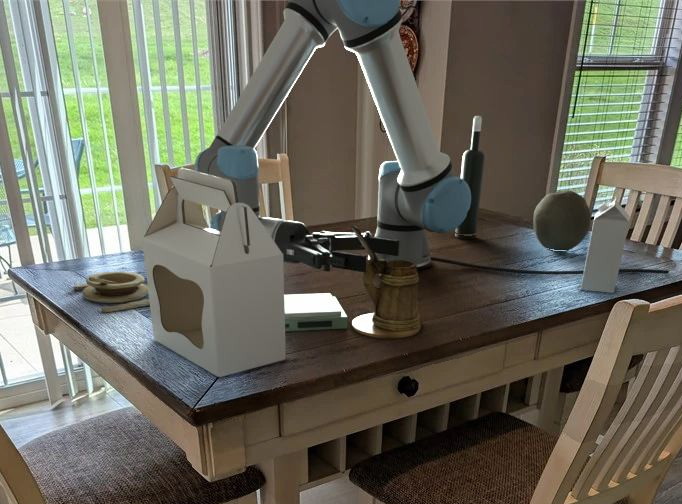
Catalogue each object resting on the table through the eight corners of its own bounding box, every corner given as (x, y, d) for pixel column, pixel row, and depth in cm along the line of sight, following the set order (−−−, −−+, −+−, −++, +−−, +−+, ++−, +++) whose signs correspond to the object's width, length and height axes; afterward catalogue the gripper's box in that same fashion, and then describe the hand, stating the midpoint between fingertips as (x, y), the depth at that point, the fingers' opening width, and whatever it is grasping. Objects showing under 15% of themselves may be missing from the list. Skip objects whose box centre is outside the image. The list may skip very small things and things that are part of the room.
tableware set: (101, 314, 140) (96, 283, 137) (69, 289, 154) (64, 260, 151) (238, 291, 155) (236, 262, 152) (198, 270, 169) (196, 243, 165)
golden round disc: (410, 314, 144) (410, 311, 144) (429, 336, 133) (429, 333, 133) (345, 317, 142) (345, 314, 141) (360, 340, 131) (360, 336, 131)
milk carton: (614, 285, 164) (634, 196, 154) (613, 294, 159) (633, 201, 149) (582, 282, 166) (599, 193, 156) (580, 290, 161) (597, 198, 151)
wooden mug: (345, 318, 139) (347, 219, 130) (413, 315, 142) (420, 218, 132) (353, 333, 132) (356, 230, 122) (425, 330, 134) (433, 228, 125)
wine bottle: (450, 236, 203) (462, 115, 187) (463, 233, 207) (476, 115, 191) (466, 240, 200) (479, 117, 184) (479, 237, 203) (493, 116, 187)
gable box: (153, 339, 129) (131, 168, 114) (217, 325, 136) (205, 162, 121) (219, 379, 115) (205, 188, 100) (287, 360, 122) (283, 180, 107)
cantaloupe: (533, 244, 198) (542, 184, 190) (586, 249, 193) (598, 189, 185) (524, 255, 186) (533, 193, 178) (581, 261, 182) (593, 198, 174)
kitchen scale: (334, 307, 147) (334, 292, 145) (347, 328, 136) (348, 313, 134) (265, 310, 145) (265, 295, 143) (273, 332, 134) (272, 316, 132)
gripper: (315, 248, 151) (409, 262, 143) (246, 275, 132) (349, 293, 124) (315, 209, 147) (411, 222, 139) (244, 232, 128) (350, 248, 120)
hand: (382, 255), depth 131 cm, fingers open, 13 cm apart
